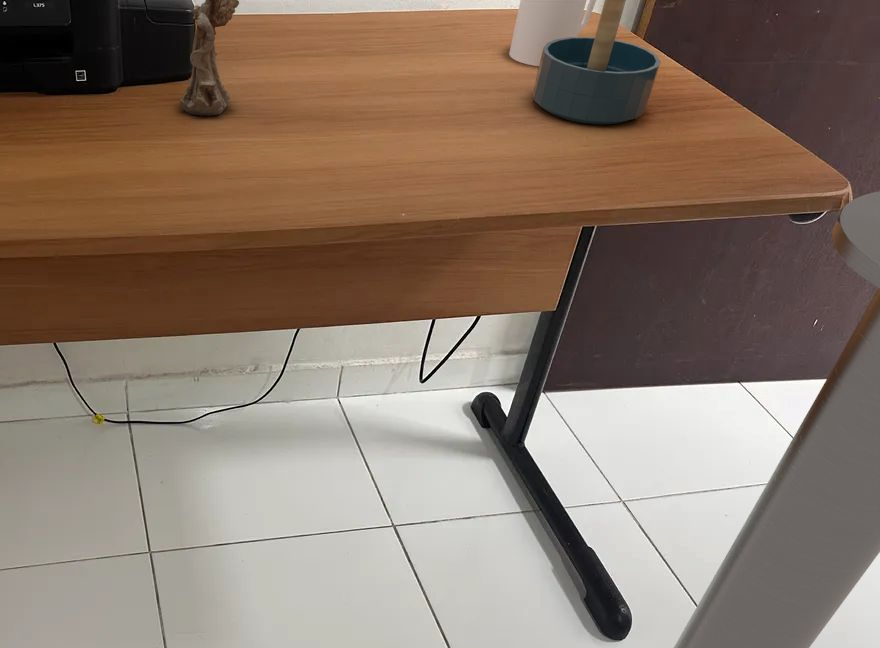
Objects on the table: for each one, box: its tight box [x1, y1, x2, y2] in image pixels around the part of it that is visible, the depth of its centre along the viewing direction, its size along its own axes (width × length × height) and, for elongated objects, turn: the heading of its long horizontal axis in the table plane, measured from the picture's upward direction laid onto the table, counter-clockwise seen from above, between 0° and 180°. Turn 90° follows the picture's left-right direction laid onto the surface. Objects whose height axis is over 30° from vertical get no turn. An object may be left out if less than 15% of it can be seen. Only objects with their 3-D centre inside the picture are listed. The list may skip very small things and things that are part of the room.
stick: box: [586, 0, 627, 71], centre depth 103 cm, size 2×2×14 cm
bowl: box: [531, 36, 661, 125], centre depth 106 cm, size 13×13×6 cm
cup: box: [508, 0, 597, 67], centre depth 119 cm, size 8×12×10 cm
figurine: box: [179, 0, 240, 117], centre depth 100 cm, size 7×6×15 cm
